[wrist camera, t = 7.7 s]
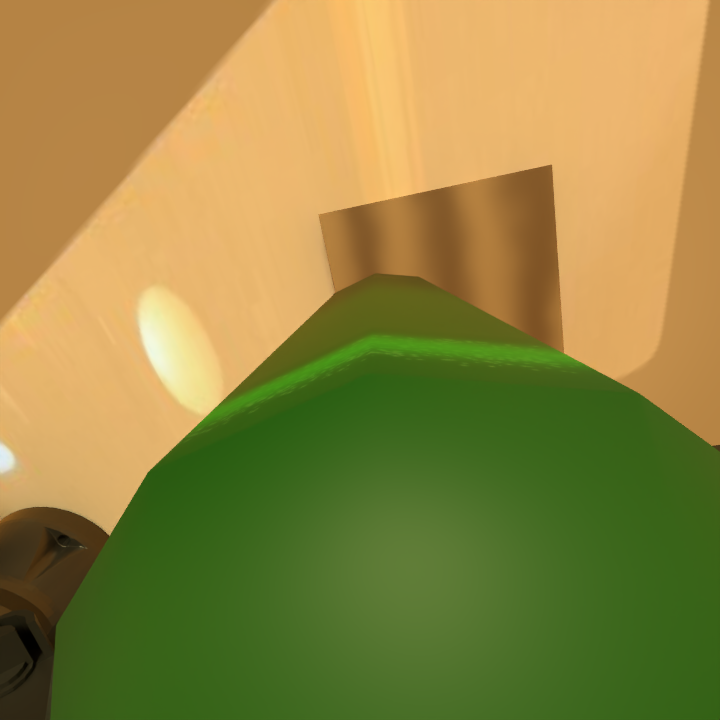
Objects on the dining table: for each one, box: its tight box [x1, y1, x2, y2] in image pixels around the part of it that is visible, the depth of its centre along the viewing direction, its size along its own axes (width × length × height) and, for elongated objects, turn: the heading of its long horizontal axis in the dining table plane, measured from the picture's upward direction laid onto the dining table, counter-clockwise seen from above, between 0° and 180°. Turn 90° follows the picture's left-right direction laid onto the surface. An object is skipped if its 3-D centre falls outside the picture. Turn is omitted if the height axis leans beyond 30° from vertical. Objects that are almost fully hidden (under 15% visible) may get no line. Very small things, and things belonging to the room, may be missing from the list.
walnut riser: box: [319, 165, 564, 353], centre depth 37 cm, size 18×16×3 cm
